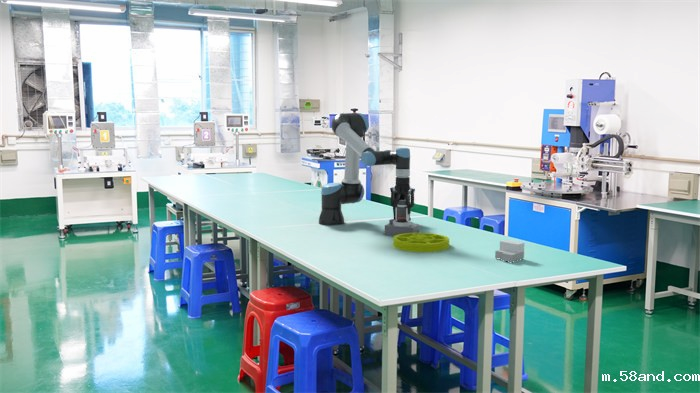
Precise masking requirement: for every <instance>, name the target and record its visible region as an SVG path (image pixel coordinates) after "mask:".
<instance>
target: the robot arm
mask: <svg viewBox="0 0 700 393" xmlns="http://www.w3.org/2000/svg"><path fill="white" fill-rule="evenodd" d="M330 124H331V125H330V126H331V130H332V132H333V133H334V134H335V135H336V137H338V138H341V139H342V140H343V141H344V142H345V145H346V146H345V158H344V160H345V161H344V177H343V179H342V180H341V182H329V183H326V184H323V185H322V187H321V191H320V194H321V211H320V215H319V217H318V224H320V225H325V226H338V225H343V224H344V223H345V217H344V215H343V211H342V205H346V204H348V205H349V204H356V203H359V202H361V201H362V200H363V198H364V196H365V188H364V185H363V184H362V181H361V180H360V178H359V176H360V175H359V174H360V162H361V164H362V165H363V166H366V167H372V166H373V167H374V166H387V165H395V176H396V177H395V186H393V187H390V188H389V189H390V206H391V207H392V208H393V207H394V213H396V214H395V219H396V220H397V204H398V200H399V198H400V195H401V194H404V196H405V199H406V203H407V208H406V220H409V214H410V215H411V213H412V208H413V207H415V192H416V189H415V188H413V187H411V186H410V184H411V180H410V179H411V177H410V175H411V170H410V168H411V150H410V148H409V147H397V148H396V149H395V150H391V149H385V150H378V151H377V150H375V149H373V148H372V147H371V146H370V145H369V144H368V143H367V142H366V141H365V140H364V139H363V138H364V137H365V133H367V132H368V130H369V127H370V126H369V120H368V118H367V116H366V115H365V114H363V113H359V112H351V113H350V112H346V113H344V112H343V113H337V114H336V115H335V116H334V117H333V119H332V121H331V123H330ZM395 189H396V191H397V196H396V199H395V203H394V195H395ZM408 191H410V192H411V194H410V200H409V196H408Z"/></svg>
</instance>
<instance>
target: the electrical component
mask: <svg viewBox="0 0 700 393" xmlns="http://www.w3.org/2000/svg"><path fill="white" fill-rule="evenodd" d="M396 196H397V191H396V189H395V195H394V203H395V199H396ZM408 196H409V200H410V201H411V192H410V190H409V191H408ZM399 200H406V199H405V196H404V194H401V195H400V198H399ZM397 207H398V206H397ZM392 213H393V214H392V215H393V219H395V214H396V213H394V207H393V206H392ZM411 220H412V218H411V213H410V214H409V221H411ZM411 222H412V221H411Z"/></svg>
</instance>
